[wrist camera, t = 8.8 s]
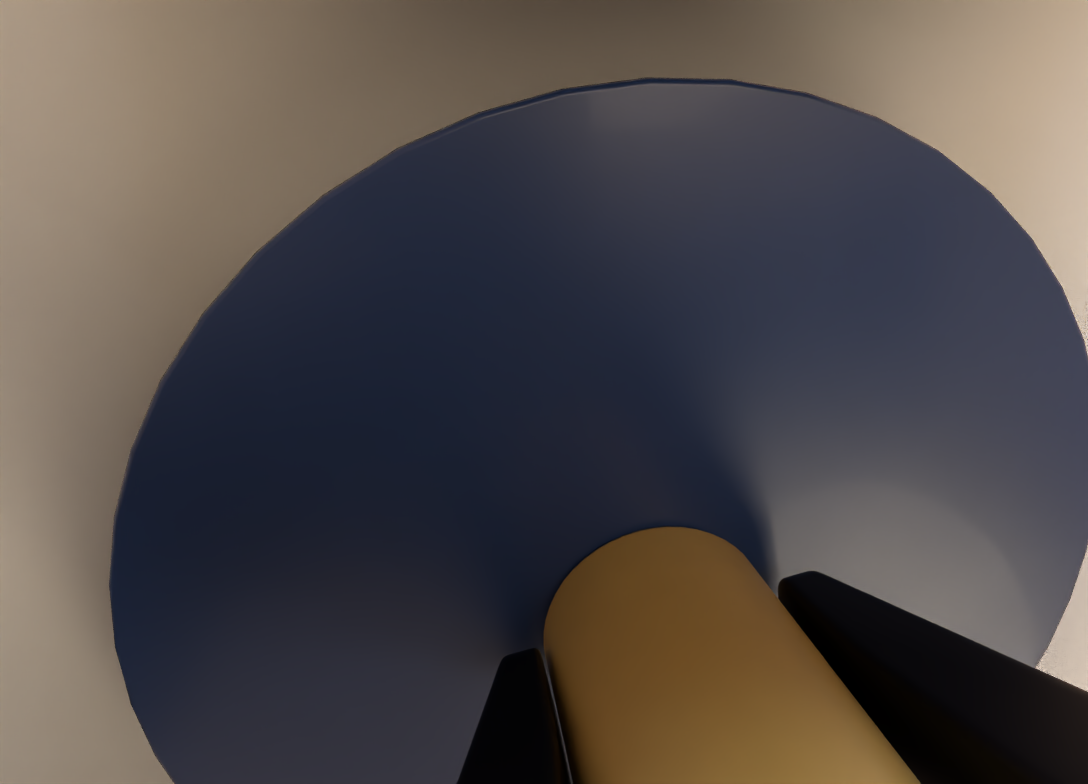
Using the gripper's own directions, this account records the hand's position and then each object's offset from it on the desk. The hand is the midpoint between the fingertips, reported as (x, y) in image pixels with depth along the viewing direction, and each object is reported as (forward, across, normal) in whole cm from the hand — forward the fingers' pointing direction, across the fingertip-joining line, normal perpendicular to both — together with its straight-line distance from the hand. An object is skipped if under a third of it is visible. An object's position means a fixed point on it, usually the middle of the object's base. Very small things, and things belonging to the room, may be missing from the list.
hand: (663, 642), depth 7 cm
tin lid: (+1, 0, 0) cm, 1 cm away
